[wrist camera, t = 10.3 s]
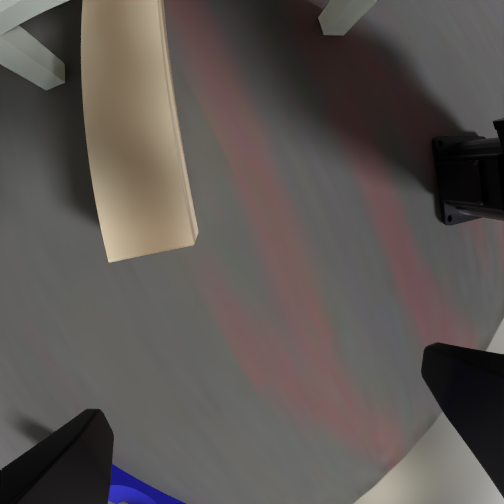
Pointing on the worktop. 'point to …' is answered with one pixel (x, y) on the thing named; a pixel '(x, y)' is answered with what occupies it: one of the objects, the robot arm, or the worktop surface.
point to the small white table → (53, 69)
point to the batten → (134, 129)
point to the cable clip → (135, 490)
